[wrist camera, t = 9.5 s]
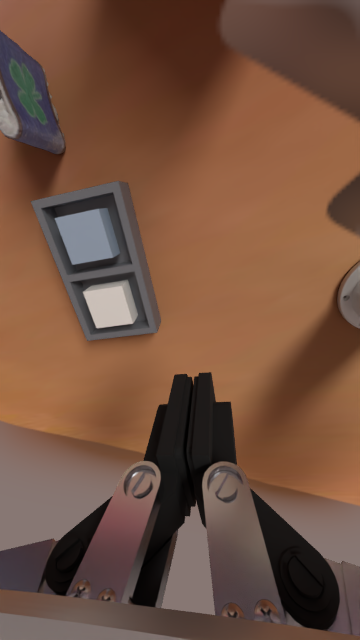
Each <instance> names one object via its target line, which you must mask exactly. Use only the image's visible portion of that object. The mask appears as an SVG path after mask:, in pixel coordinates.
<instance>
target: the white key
mask: <svg viewBox="0 0 360 640" xmlns="http://www.w3.org/2000/svg"><path fill="white" fill-rule="evenodd" d="M83 294H84V297H85V299H86V302H87V305H88V307H89V310H90V313H91V315H92V318H93V321H94V323H95V326H96V328H103V327H111V326H119V325H127V324H133V323H134V321H135V320H136V318H137V316H138V313H137V310H136V306H135V303H134V299H133V296H132V292H131V289H130V285H129V282H128V280H123V281H117V282H111V283H104V284H98V285H92V286H90V287H89V288H88V289H86V290H85V291H84V292H83Z"/></svg>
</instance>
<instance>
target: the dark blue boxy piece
mask: <svg viewBox="0 0 360 640" xmlns="http://www.w3.org/2000/svg"><path fill="white" fill-rule="evenodd" d="M51 98H52V96H51V95H50V93H49V91H48V83H47V80H46V75H45V71H44V69H43V67H42V66H41V65H40V64H39V63H38V62H37V61H36V60H34V59H33V58H32V57H31V56H29V55H28V54H27V53H26V52H24V51H23V50H22V49H21V48H20V47H19V45H18V44H16V43H15V42H14V41H12V40H11V39H10V38H8V37H7V36H6V35H5V34H4V33H2V32H1V31H0V130H1V131H2V133H3V134H4V135H5V136H6V137H7V138H11V139H13V140H16V141H19V142H23V143H26V144H28V145H31V146H34V147H37V148H41V149H44V150H47V151H49V152H52V153H54V154H61V153H63V152H64V151H65V140H64V134H63V133H62V132H61V129H60V125H59V119H58V114H57V112H56V109H55V107H54V106H53V104H52V103H51Z"/></svg>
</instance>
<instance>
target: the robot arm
mask: <svg viewBox="0 0 360 640" xmlns="http://www.w3.org/2000/svg"><path fill="white" fill-rule="evenodd" d="M337 302H338V308H339V311H340V313H341V315H342V316H343V317H344V318H345V319H346V320H347V321H348V322H349V323H350V324H352V325H353V326H355V327H357V328H359V329H360V261H359V262H358V263H357V264H356V265H355V266H354V267H353V268H352V269H351V270H350V271H349V272H348V273H347V275H346V276H345V278H344V279H343V281H342V283H341V285H340V288H339V291H338V297H337ZM196 501H197V505H198V509H199V513H200V517H201V520H202V524H203V525H204V526H205V528H206V529H207V538H208V548H209V556H210V557H209V558H210V568H211V577H212V588H213V598H214V607H215V615H209V614H202V613H194V612H186V611H178V610H171V609H163V608H161V606H162V602H163V597H164V593H165V589H166V584H167V580H168V576H169V571H170V567H171V562H172V558H173V554H174V549H175V545H176V541H177V536H178V529H179V528H180V527H181V526H182V524H183V523H184V521H185V516H190V510H191V506H195V504H196ZM0 640H360V567H359V566H356V565H353V564H350V563H347V562H344V561H342V562H341V564H340V563H337V562H335V561H332V560H329V559H326V558H323V556H322V555H321V554H320V553H319V552H318V551H317V550H316V549H315V548H313V546H311V545H310V544H309V543H308V542H307V541H306V540H305V539H304V538H303V537H302V536H301V535H300V534H299V533H298V532H296V531H295V530H294V529H293V528H292V527H291V526H290V525H289V524H288V523H287V522H286V521H285V520H284V519H283V518H281V517H280V516H279V515H278V514H277V513H276V512H275V511H274V510H273V509H272V508H271V507H270V506H269V505H268V504H267V503H265V502H264V501H263V500H262V499H261V498H260V497H259V496H258V495H257V494H256V493H255V492H254V491H253V490H251V489H250V487H249V483H248V480H247V477H246V475H245V473H244V472H243V471H242V469H241V468H240V467H238V466H237V461H236V450H235V438H234V427H233V418H232V409H231V402H216V400H215V394H214V387H213V381H212V375H211V372H209V373H199V376H197V377H194V386H193V381H192V377H188V376H187V374H178V375H175V376H174V379H173V384H172V388H171V393H170V397H169V401H168V404H163V405H159V407H158V410H157V413H156V417H155V421H154V424H153V428H152V432H151V435H150V439H149V443H148V446H147V450H146V454H145V457H144V461H141V462H138V463H135V464H134V465H132V466H131V467H129V468H128V469H127V470H126V471H125V473H124V474H123V476H122V477H121V479H120V482H119V484H118V486H117V488H116V490H115V492H114V494H113V496H112V497H111V498H110V499H108V500H107V501H106V502H105V503H104V504H102V505H101V506H100V507H99V508H97V509H96V510H95V511H94V512H93V513H91V514H90V515H89V516H88V517H86V518H85V519H84V520H83V521H81V522H80V523H79V524H78V525H76V526H75V527H74V528H73V529H72V530H70V531H69V532H68V533H67V534H66V535H64V536H63V537H62V538H61V539H60V540H58V541H55V540H54V539H49V540H45V541H41V542H36V543H32V544H28V545H24V546H19V547H15V548H11V549H7V550H3V551H0Z"/></svg>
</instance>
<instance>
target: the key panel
mask: <svg viewBox="0 0 360 640" xmlns="http://www.w3.org/2000/svg"><path fill="white" fill-rule="evenodd" d="M31 203H32V206H33V208H34V211H35V213H36V216H37V218H38V220H39V223H40V225H41V228H42V230H43V233H44V235H45V238H46V240H47V243H48V245H49V248H50V250H51V253H52V255H53V258H54V260H55V262H56V265H57V267H58V270H59V272H60V275H61V277H62V280H63V282H64V285H65V287H66V290H67V292H68V295H69V297H70V300H71V302H72V304H73V307H74V309H75V312H76V314H77V317H78V319H79V322H80V324H81V327H82V329H83V332H84V334H85V337H86V339H87V341H89V340H98V339H106V338H115V337H123V336H131V335H140V334H148V333H157V331H158V329H159V326H160V323H161V318H160V314H159V310H158V305H157V301H156V297H155V293H154V289H153V285H152V281H151V277H150V272H149V268H148V264H147V260H146V256H145V252H144V248H143V243H142V239H141V235H140V231H139V227H138V223H137V219H136V215H135V210H134V206H133V202H132V198H131V194H130V190H129V186H128V183H125V182H121V181H116V182H112V183H107V184H103V185H99V186H94V187H90V188H86V189H82V190H77V191H73V192H69V193H64V194H60V195H56V196H51V197H47V198H43V199H39V200H34V201H31ZM101 208H107V209H108V212H109V216H110V219H111V223H112V226H113V230H114V233H115V237H116V240H117V244H118V247H119V251H120V254H118V255H117V256H115V257H113V258H108V259H102V260H97V261H91V262H85V263H80V264H74V265H72V263H71V260H70V257H69V255H68V252H67V249H66V247H65V244H64V242H63V239H62V236H61V234H60V231H59V228H58V226H57V223H56V220H55V218H58V217H62V216H67V215H72V214H76V213H81V212H85V211H90V210H95V209H101ZM123 280H128V282H129V285H130V289H131V292H132V296H133V299H134V303H135V306H136V310H137V313H138V316H137V318H136V320H135V321H134V323H133V324H127V325H119V326H111V327H103V328H96V326H95V323H94V321H93V318H92V315H91V313H90V310H89V307H88V305H87V302H86V299H85V297H84V294H83V292H84V291H85V290H86V289H88V288H89V287H90V286H92V285H98V284H104V283H111V282H117V281H123Z"/></svg>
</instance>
